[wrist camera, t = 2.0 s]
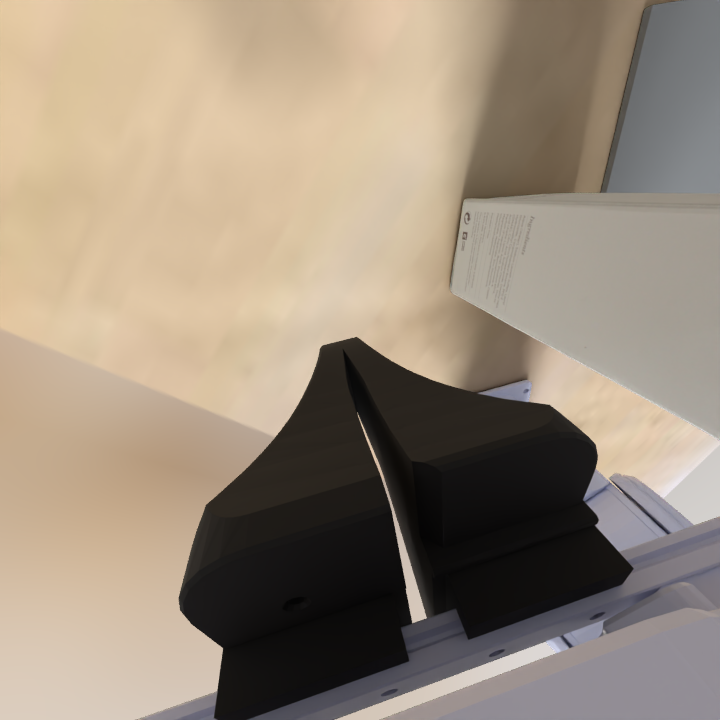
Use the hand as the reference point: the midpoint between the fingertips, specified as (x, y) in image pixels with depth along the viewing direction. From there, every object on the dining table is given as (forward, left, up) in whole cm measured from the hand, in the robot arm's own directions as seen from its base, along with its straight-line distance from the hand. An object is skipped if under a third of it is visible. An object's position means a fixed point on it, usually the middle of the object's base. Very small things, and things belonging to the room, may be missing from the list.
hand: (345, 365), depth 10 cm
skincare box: (0, -13, -10) cm, 16 cm away
